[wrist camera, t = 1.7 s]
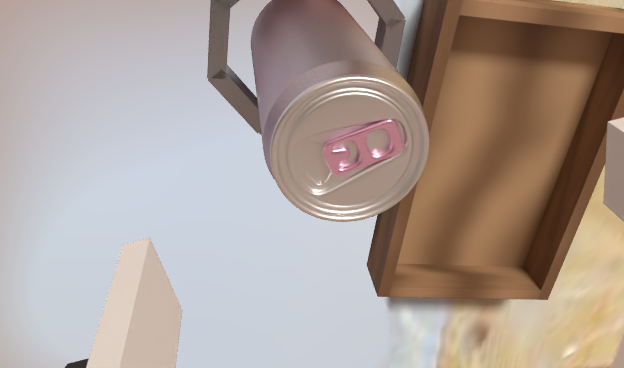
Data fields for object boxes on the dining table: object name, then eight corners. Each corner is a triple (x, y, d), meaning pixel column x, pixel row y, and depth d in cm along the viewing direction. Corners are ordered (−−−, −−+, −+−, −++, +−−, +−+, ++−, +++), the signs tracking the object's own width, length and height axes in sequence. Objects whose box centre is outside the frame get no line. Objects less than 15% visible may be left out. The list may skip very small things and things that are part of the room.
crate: (366, 264, 41) (377, 296, 38) (427, -15, 32) (448, -3, 29) (525, 269, 43) (547, 299, 40) (625, 9, 34) (664, 22, 31)
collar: (206, 118, 34) (205, 130, 32) (214, -71, 29) (213, -67, 27) (373, 130, 36) (380, 142, 34) (408, -46, 31) (418, -41, 29)
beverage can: (365, 69, 34) (450, 194, 21) (272, 104, 34) (299, 248, 21) (335, -30, 31) (413, 43, 18) (234, 9, 31) (237, 109, 18)
